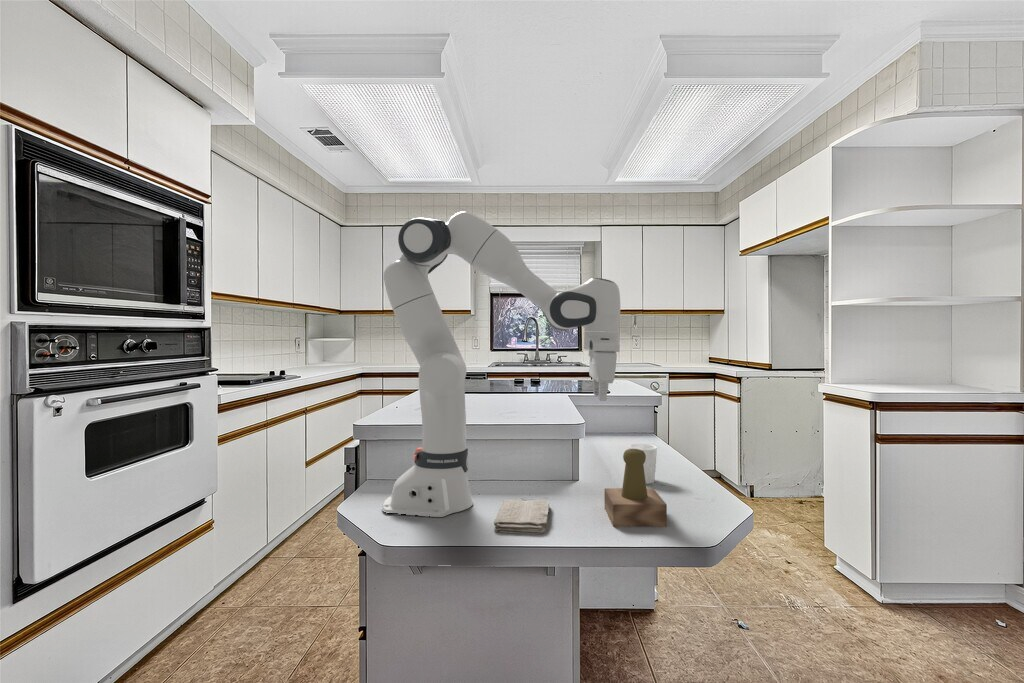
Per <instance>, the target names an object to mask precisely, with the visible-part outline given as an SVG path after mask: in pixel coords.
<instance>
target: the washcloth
mask: <svg viewBox="0 0 1024 683" xmlns="http://www.w3.org/2000/svg"><path fill="white" fill-rule="evenodd" d="M548 512H550V500H544V499H543V500H541V499H535V500H521V499H520V500H518V499H505V500H503V502H502V504H501V506H500V508H499V510H498V513H497V515H496V517H495V519H494V521H493V526H494V528H493V532H495V533H497V532H500V533H506V534H507V533H508V534H529V535H531V534H532V535H534V534H535V535H541V534H543V533H545V531H546V529H547V528H548V527H547V526H548V520H549V514H548Z"/></svg>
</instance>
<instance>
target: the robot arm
mask: <svg viewBox="0 0 1024 683" xmlns="http://www.w3.org/2000/svg"><path fill="white" fill-rule="evenodd" d="M397 237H398V239H397V240H398V241H397V242H398V243H397V244H398V247H399V249H400V251H401V253H402V255H401V257H400V258H398V259H397V260H394V261H393V262H391V263H390V264H389V265H387V266H386V268H385V269H384V272H383V275H382V276H383V282H384V286H385V291H386V294H387V296H388V301H389V303H390V306H391V308H392V312H393V313H394V316H395V317H396V320H397V322H398V325H399V327H400V328H399V329H400V331H401V332H402V335H403V337H404V339H405V341H406V342H407V344H408V346H409V347H410V349H411V351H412V354H413V355H414V357H415V359H416V361H417V363H418V365H419V369H418V388H419V390H418V391H419V403H420V412H421V430H422V431H421V432H422V434H421V437H422V438H421V439H422V442H421V444H422V446H420V447H417V449H415V452H414V454H413V455H414V456H413V460H414V465H412V466H411V467H410V468H409V469H407V470H405V471H404V473H403V474H402V475H400V476H399V477H398V478H397V479H396V480H395V482H394V484H393V488H392V492H391V495H390V496H388V497H387V498H386V499H385V500H384V501H383V504H382V508H383V510H384V511H385V512H389V513H398V514H397V515H401V514H406V516H415V515H418V517H429V516H430V517H433V518H443V517H446V516H448V515H450V514H455V513H459V512H462V511H465V510H468V509H469V508H470V507H472V506H473V505H474V500H473V498H472V494H471V489H470V483H469V477H468V470H469V465H470V464H469V463H470V462H469V449H468V448H467V414H466V413H467V412H466V389H465V388H466V386H465V384H466V383H465V382H466V381H465V380H466V377H467V366H466V362H465V360H464V357H463V356H462V354H461V351H460V350H459V347H458V344H457V343H456V340H455V339H454V336H453V334H452V332H451V329H450V328H449V325H448V323H447V321H446V319H445V316H444V314H443V311H442V309H441V307H440V304H439V303H438V300H437V297H436V295H435V292H434V290H433V288H432V285H431V283H430V279H429V274H431V272H433V271H435V270H436V268H438V267H439V266H440V265H442V263H444V262H445V260H446V259H447V257H448V255H455V256H458V257H460V259H463V260H464V261H465V262H467V263H468V264H469V265H470V266H472V267H473V268H474V269H476V270H477V271H479V272H480V273H482V274H484V275H485V276H488V277H489V278H491V279H493V280H495V281H498V282H500V283H502V284H504V285H507V286H508V287H510V288H512V289H514V290H516V292H518V293H519V294H521V295H522V296H524V298H526V299H527V300H528V301H530V302H531V303H532V304H534V305H535V306H536V307H537V308H539V309H540V311H541V312H542V313H543V314H542V315H544V317H545V319H546V321H547V323H548V324H549V325H550V326H551V328H554V329H555V330H557V331H563V332H566V331H571V330H573V329H576V328H578V327H583V329H584V330H583V350H584V351H585V350H586V351H588V357H589V366H588V373H589V377H590V378H592V387H593V395H594V396H595V397H598V401H600V402H607V398H608V390H609V384H613V383H614V381H615V377H616V376H615V375H616V371H617V370H616V369H617V368H616V367H617V358H618V355H617V353H619V352H620V348H621V346H620V339H621V338H620V335H621V334H620V332H621V330H620V327H619V319H620V316H621V294H620V288H619V285H618V284H617V283H616V282H614V281H613V280H610V279H606V278H603V277H592V278H591V277H590V278H589V279H588V280H587V281H584V282H583V283H582V284H580V285H577V286H575V287H572V288H569V289H566V290H563V291H559V290H557V289H554V288H553V287H551V286H550V285H549V284H548V283H546V282H545V281H544V280H543V279H541V278H540V277H539V276H538V275H536V274H535V273H534V272H532V270H531V269H529V267H528V266H527V264H526V263H525V262H524V259H523V257H522V255H521V253H520V251H519V249H518V248H517V246H516V245H515V244H514V243H513V242H512V241H511V240H510V239H509V237H508V236H506V235H505V234H504V233H503V232H501V231H500V230H499V229H497V228H496V227H495V226H494V225H492V224H490V223H489V222H487V221H486V220H484V219H483V218H480V217H479V216H477V215H475V214H473V213H470V212H469V211H459V212H456V213H455V214H454V215H452V216H451V217H450V218H449V219H448V221H447V222H445V221H444V220H441V219H434V218H428V217H427V218H425V217H415V218H412V219H410V220H407V221H405V223H404V224H403V225H402V226H401V227H400V230H399V231H398V236H397ZM383 510H382V511H383Z"/></svg>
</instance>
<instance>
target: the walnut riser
mask: <svg viewBox="0 0 1024 683" xmlns="http://www.w3.org/2000/svg"><path fill="white" fill-rule="evenodd" d="M646 488H647V487H646ZM621 495H622V487H621V488H620V487H619V488H618V487H617V488H614V487H613V488H611V487H610V488H606V487H605V488H604V510H606V511H605V512H607V513H606V514H608V515H607V516H608V518H609V521H610V523H611V525H612V527H613V528H614V527H620V528H621V527H625V528H626V527H628V528H629V527H635V528H636V527H667V524H668V522H667V520H668V518H667V513H668V512H667V511H668V510H667V508H668V507H667V503H666V502H665V500H664V499H663V498H662V497H661V496H660V495H659V493H658V492H657V491H656V490H655V488H650V487H649V488H647V496H648V497H647V498H646V499H643V500H630V499H626V498H624V497H622V496H621Z"/></svg>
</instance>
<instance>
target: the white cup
mask: <svg viewBox="0 0 1024 683" xmlns="http://www.w3.org/2000/svg"><path fill="white" fill-rule="evenodd" d="M657 448H658V447H657V446H656V445H653V444H649V443H648V444H647V443H635V444H634V443H633V444H629V445H628V449H639V450H642V451H644V453H645V455H646V460H645V463H644V464H643V466H644V473H645V481H646V485H649V484H653V483H655V477H656V469H657V465H656V464H657V453H658V452H657V451H658V450H657Z"/></svg>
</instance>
